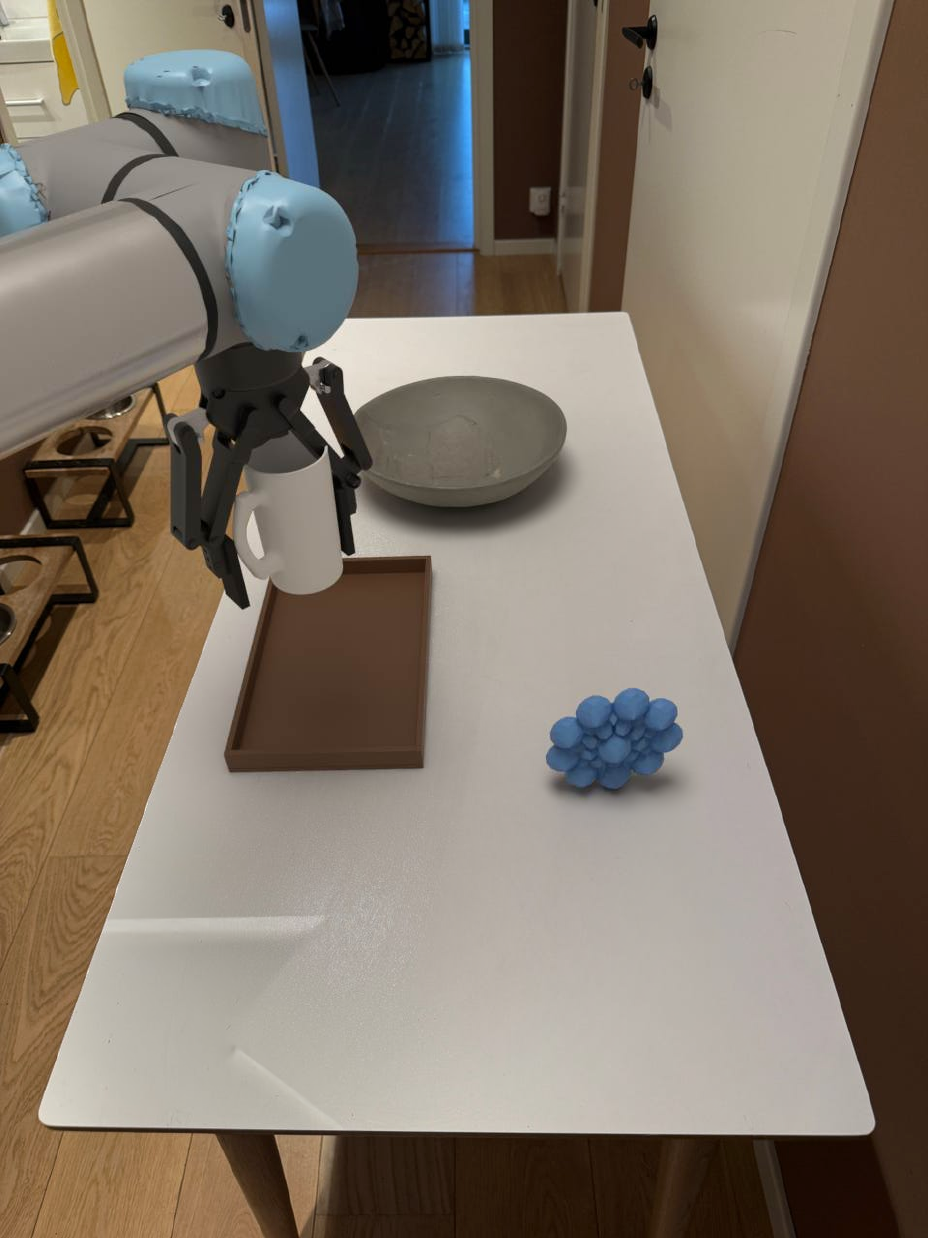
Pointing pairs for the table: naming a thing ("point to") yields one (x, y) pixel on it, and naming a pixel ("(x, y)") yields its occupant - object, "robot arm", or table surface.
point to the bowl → (460, 439)
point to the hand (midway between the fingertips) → (292, 573)
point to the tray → (338, 673)
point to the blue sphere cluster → (614, 739)
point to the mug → (290, 517)
